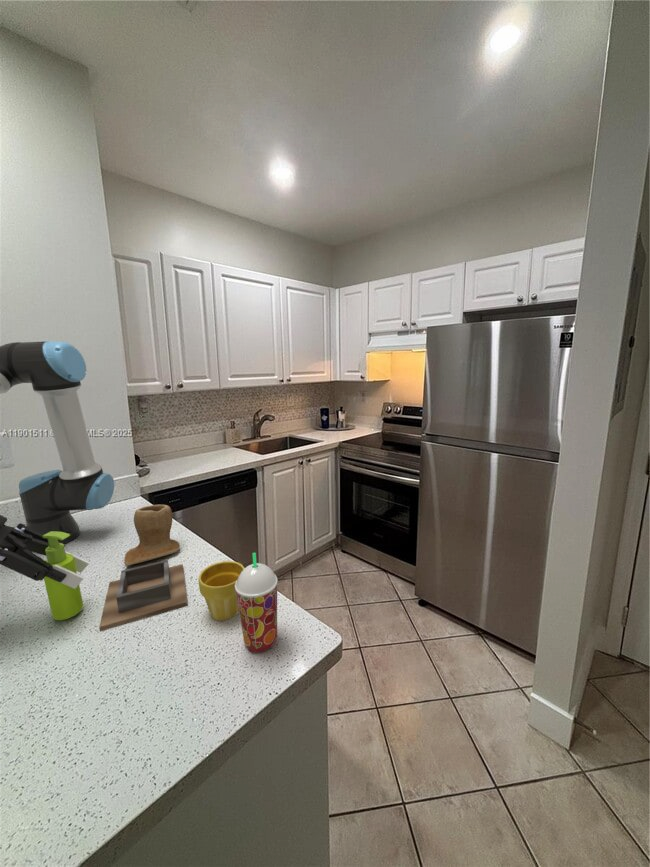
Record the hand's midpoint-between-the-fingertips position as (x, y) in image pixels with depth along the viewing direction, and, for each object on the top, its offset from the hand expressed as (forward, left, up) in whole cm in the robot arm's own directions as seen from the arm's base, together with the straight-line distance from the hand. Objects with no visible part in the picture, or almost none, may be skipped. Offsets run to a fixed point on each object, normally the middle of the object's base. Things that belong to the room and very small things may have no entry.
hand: (82, 574), depth 82 cm
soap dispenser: (0, -4, -9) cm, 9 cm away
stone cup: (-21, +13, -10) cm, 27 cm away
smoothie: (+28, +34, -10) cm, 45 cm away
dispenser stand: (0, +12, -9) cm, 16 cm away
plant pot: (+15, +29, -10) cm, 34 cm away
